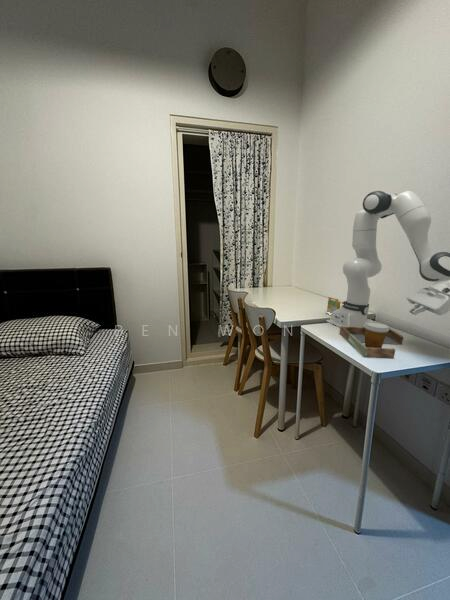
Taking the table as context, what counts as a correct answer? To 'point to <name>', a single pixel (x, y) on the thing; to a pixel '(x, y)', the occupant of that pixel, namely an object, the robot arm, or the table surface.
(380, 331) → the disposable coffee cup
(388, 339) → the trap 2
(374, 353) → the walnut corridor
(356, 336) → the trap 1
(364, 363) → the table surface
